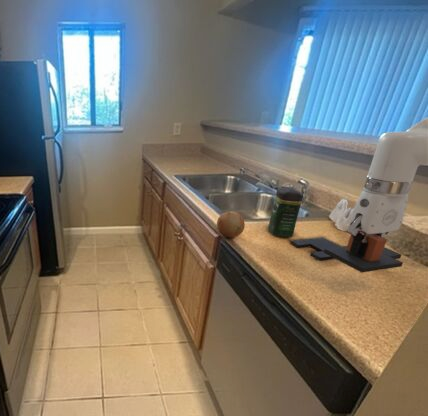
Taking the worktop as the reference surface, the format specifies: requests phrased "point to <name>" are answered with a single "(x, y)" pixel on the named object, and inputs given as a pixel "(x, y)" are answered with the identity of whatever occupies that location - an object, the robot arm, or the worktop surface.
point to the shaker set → (341, 215)
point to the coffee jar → (285, 212)
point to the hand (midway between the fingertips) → (362, 253)
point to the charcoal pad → (316, 247)
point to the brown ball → (230, 224)
